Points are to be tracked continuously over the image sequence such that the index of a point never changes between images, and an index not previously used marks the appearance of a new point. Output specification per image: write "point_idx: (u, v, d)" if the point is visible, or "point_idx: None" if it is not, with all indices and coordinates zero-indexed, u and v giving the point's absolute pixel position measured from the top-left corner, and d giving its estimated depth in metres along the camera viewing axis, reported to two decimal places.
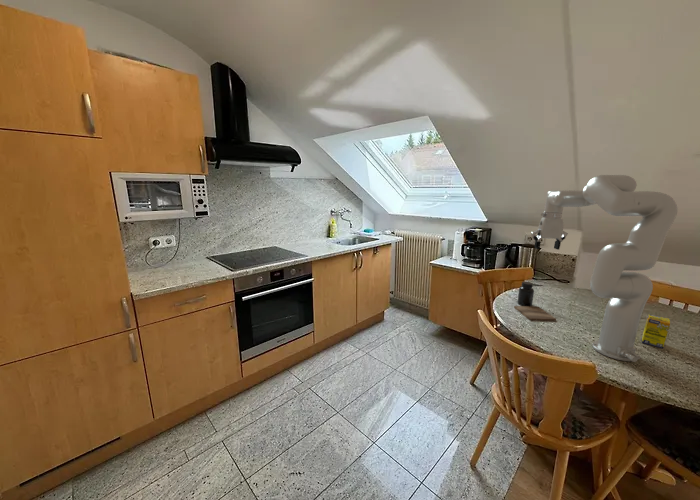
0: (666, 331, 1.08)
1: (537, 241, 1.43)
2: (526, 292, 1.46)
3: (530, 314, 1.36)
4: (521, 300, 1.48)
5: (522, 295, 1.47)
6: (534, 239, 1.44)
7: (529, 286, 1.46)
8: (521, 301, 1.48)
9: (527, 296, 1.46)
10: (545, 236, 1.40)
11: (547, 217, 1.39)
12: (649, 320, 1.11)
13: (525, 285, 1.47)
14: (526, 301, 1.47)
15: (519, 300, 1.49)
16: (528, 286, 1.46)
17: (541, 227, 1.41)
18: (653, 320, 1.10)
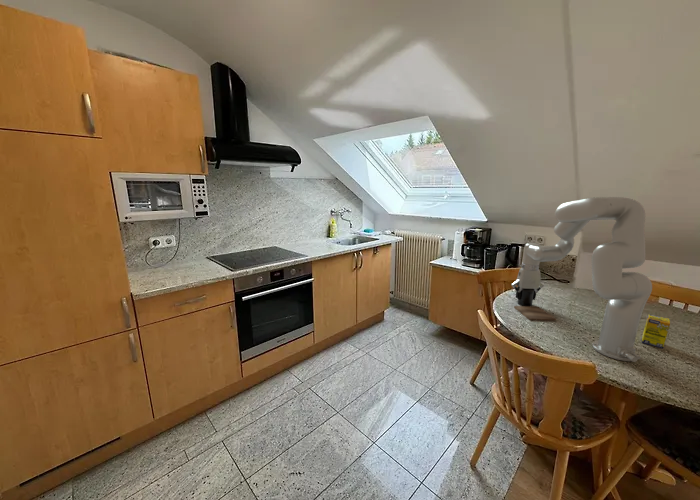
0: (666, 331, 1.08)
1: (518, 292, 1.48)
2: (526, 292, 1.46)
3: (530, 314, 1.36)
4: (521, 300, 1.48)
5: (522, 295, 1.47)
6: None
7: None
8: (521, 301, 1.48)
9: (527, 296, 1.46)
10: (523, 287, 1.45)
11: (525, 269, 1.44)
12: (649, 320, 1.11)
13: None
14: (526, 301, 1.47)
15: (519, 300, 1.49)
16: None
17: (519, 278, 1.46)
18: (653, 320, 1.10)
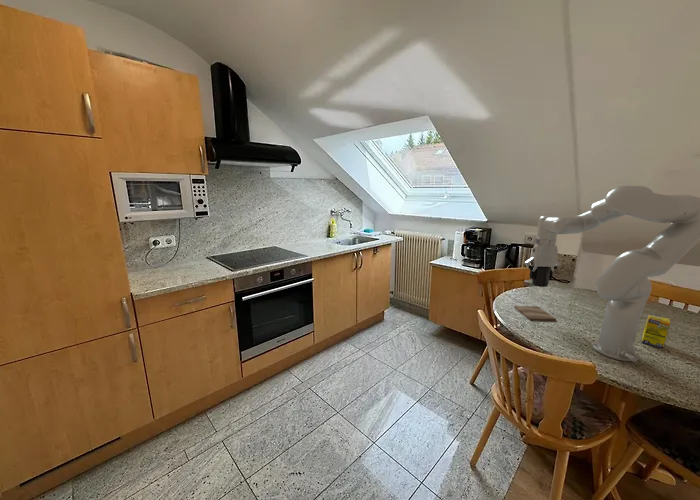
0: (666, 331, 1.08)
1: (533, 271, 1.33)
2: (542, 271, 1.30)
3: (530, 314, 1.36)
4: (536, 280, 1.33)
5: (538, 274, 1.32)
6: (529, 269, 1.34)
7: None
8: (535, 281, 1.33)
9: (543, 275, 1.31)
10: (538, 264, 1.30)
11: (540, 244, 1.29)
12: (649, 320, 1.11)
13: None
14: (542, 281, 1.31)
15: (534, 280, 1.34)
16: None
17: (534, 255, 1.31)
18: (653, 320, 1.10)
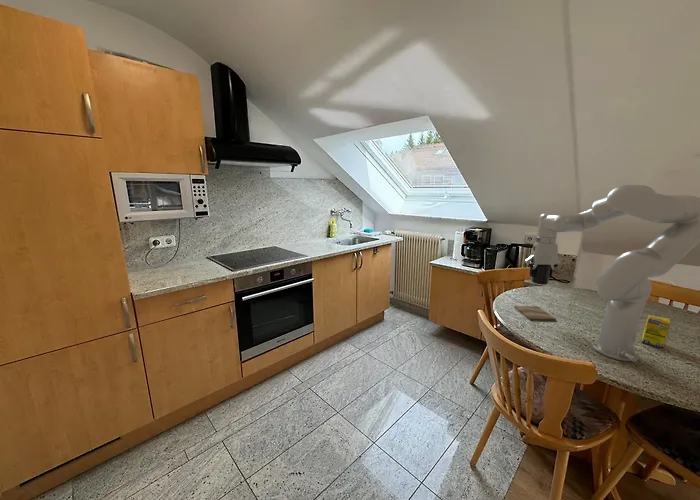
0: (666, 331, 1.08)
1: (533, 269, 1.33)
2: (542, 268, 1.30)
3: (530, 314, 1.36)
4: (536, 278, 1.33)
5: (538, 272, 1.32)
6: (529, 266, 1.34)
7: None
8: (535, 279, 1.33)
9: (543, 273, 1.31)
10: (539, 262, 1.30)
11: (540, 242, 1.29)
12: (649, 320, 1.11)
13: None
14: (542, 279, 1.31)
15: (533, 278, 1.34)
16: None
17: (534, 252, 1.31)
18: (653, 320, 1.10)
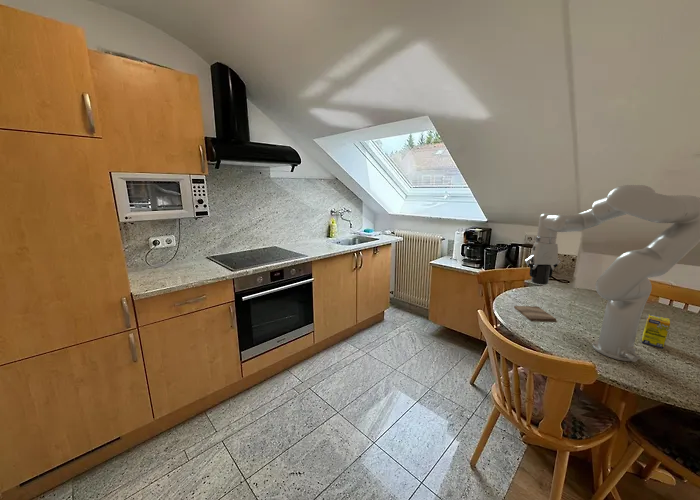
0: (666, 331, 1.08)
1: (533, 269, 1.33)
2: (542, 268, 1.30)
3: (530, 314, 1.36)
4: (536, 278, 1.33)
5: (538, 272, 1.32)
6: (529, 266, 1.34)
7: None
8: (535, 279, 1.33)
9: (543, 273, 1.31)
10: (539, 262, 1.30)
11: (540, 242, 1.29)
12: (649, 320, 1.11)
13: None
14: (542, 279, 1.31)
15: (533, 278, 1.34)
16: None
17: (534, 252, 1.31)
18: (653, 320, 1.10)
